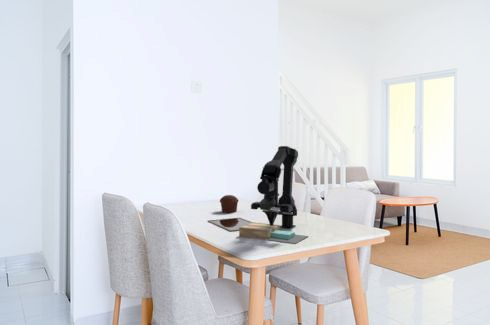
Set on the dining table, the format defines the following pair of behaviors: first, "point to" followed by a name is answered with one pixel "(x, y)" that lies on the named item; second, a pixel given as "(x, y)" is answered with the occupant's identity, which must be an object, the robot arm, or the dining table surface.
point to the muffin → (229, 204)
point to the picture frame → (230, 223)
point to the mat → (292, 240)
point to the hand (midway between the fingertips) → (271, 225)
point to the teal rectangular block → (283, 234)
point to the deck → (258, 230)
